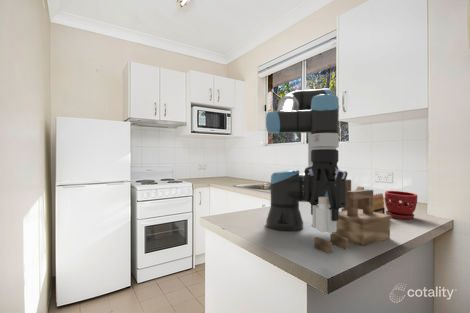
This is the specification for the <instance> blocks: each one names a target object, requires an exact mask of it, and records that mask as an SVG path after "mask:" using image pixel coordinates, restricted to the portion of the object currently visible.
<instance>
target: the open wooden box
mask: <svg viewBox="0 0 470 313" xmlns="http://www.w3.org/2000/svg"><path fill="white" fill-rule="evenodd" d="M332 233H333V234H336V235H339V236H342V237H345V238H348V243H349V242H350V243H352V244H354V245H357V246H361V247H364V246H368V245H371V244H374V243H378V242H382V241H385V240H389V239H390V238H391V219H389V220H384V221H379V222H375V223H370V224H365V225H361V224H357V223H353V222H349V221H345V220H341V219H338V221H337V229H336V232H332ZM332 233H331V234H332Z"/></svg>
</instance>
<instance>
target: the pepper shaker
mask: <svg viewBox="0 0 470 313" xmlns="http://www.w3.org/2000/svg"><path fill="white" fill-rule="evenodd" d="M318 203H319V204H318V205H319V207H318V208H316V222H315V227H316V228H315V229H316V230H318V231H319V232H321V233H328V209H329V207H330V203H329V198H328V197H319V202H318Z"/></svg>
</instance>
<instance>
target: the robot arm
mask: <svg viewBox="0 0 470 313" xmlns="http://www.w3.org/2000/svg"><path fill="white" fill-rule="evenodd" d="M339 108H340V104H339V97H338V96H337V95H336V94H334V93H333V90H331V89H330V88H319V89H303V90H302V89H299V90H295V91H291V92H288V93H286V94H285V95H283V96H282V97H281V98H280V99H279V100H278V103H277V110H273V111H268V112H267V113H266V115H265V116H266V117H265V128H266V131H267V133H268V134H276V135H277V134H297V133H298V134H300V133H301V134H302V133H304V134H306V133H307V141H308V142H307V143H308V144H307V146H308V147H307V150H308V152H307V153H308V154H307V155H308V156H307V158H308V159H307V160H308V161H307V162H308V163H307V167H305V169H304V173H300V170H299V169H289V170H280V171H274V172H273V173H272V174H271V175H270V208H269V210H268V214H267V217H266V221H265V222H266V224H265V225H266V226H267V227H268V228H270V229H272V230H277V231H282V232H283V231H284V232H294V231H300V230H302V229H304V220H303V218H302V214H301V211H300V202H301V203H309V204H310V205H311V206H310V208H311V209H310V215H311V216H312V228H313V229H316V227H315V222H316V208H318V207H319V203H318V202H319V197H328V198H329V203H330V207H329V209H328V232H327V233H329V234H332V232H336V229H337V221H338V219H339V216H338V215H339V212H340V211H339V210H340V209H342V208H344V207H345V206H346V179H347V177H348V172H347V171H342V170H340V169H339V166H338V162H339V150H338V148H339V147H340V146H339V143H340V142H339V141H340V140H339V139H340V138H339V118H340V117H339V116H340V115H339Z"/></svg>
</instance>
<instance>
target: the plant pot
mask: <svg viewBox="0 0 470 313" xmlns="http://www.w3.org/2000/svg"><path fill="white" fill-rule="evenodd" d="M417 204H418V194H416V193H412V192H408V191H399V190H386V191H384V205H385V207H386V209H387V210H385V214H387V215H392V218H393V219H400V220H411V219H413V218H415V214H414V212H415V211H416V208H417Z"/></svg>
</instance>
